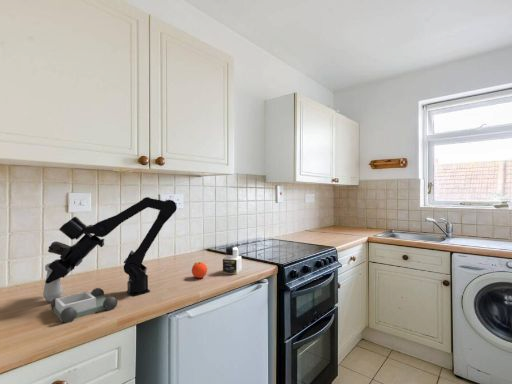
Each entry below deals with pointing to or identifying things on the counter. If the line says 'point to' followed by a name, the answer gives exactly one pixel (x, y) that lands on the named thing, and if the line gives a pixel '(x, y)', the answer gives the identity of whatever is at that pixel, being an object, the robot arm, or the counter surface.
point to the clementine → (199, 270)
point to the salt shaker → (52, 287)
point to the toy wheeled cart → (81, 304)
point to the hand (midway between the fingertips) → (48, 281)
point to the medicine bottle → (232, 261)
